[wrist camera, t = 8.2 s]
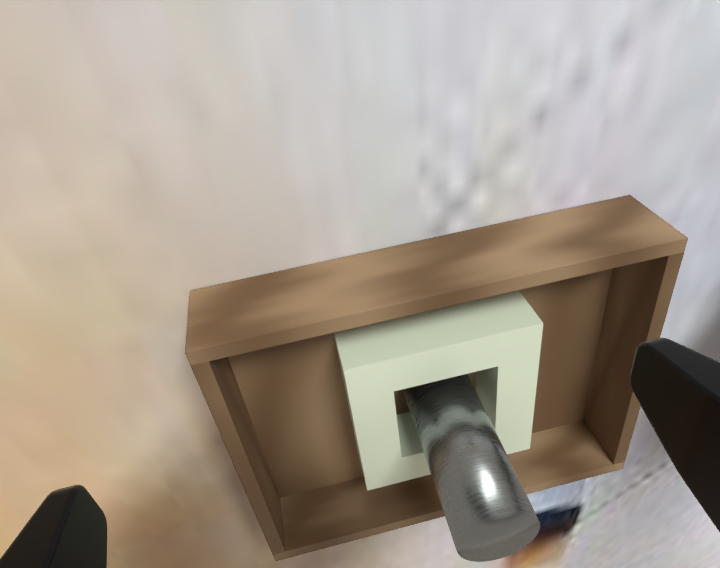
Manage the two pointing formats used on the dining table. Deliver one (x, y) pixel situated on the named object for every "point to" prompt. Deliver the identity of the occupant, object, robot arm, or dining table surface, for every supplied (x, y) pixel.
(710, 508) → the robot arm
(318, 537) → the crate
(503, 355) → the bore plate
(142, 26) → the dining table surface
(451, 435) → the peg
